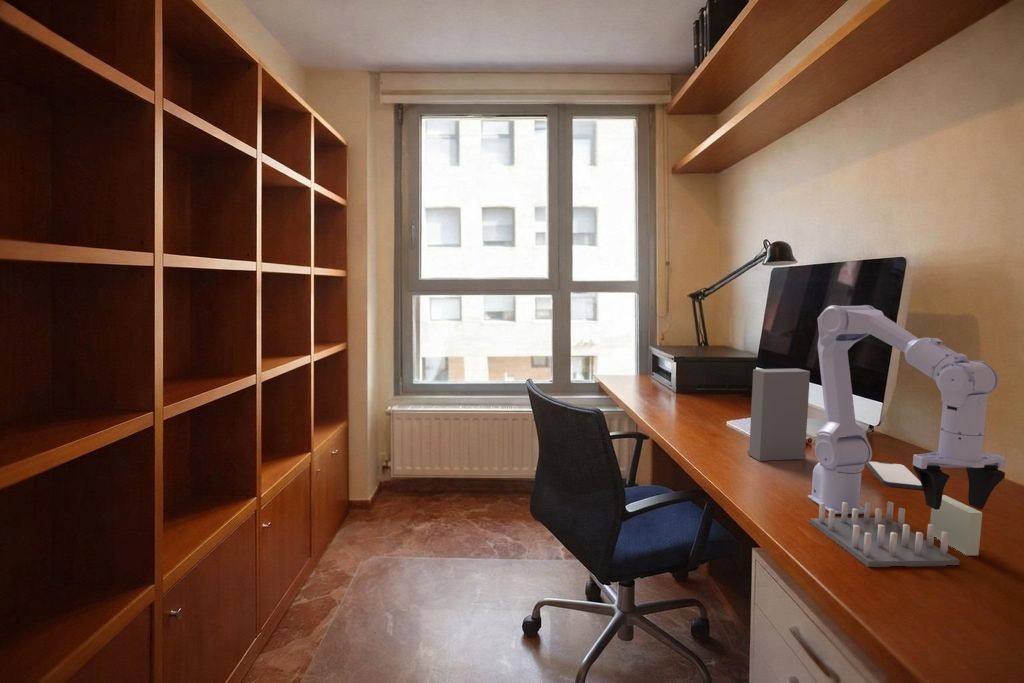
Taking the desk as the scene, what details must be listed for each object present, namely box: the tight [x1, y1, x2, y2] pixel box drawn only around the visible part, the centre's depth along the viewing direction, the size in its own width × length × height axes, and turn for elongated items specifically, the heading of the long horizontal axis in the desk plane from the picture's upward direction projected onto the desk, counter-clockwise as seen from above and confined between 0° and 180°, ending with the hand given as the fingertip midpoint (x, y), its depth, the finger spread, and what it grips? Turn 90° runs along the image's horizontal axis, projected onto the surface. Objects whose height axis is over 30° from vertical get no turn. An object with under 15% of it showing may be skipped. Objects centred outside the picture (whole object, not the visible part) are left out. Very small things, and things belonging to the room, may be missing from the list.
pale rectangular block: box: [929, 494, 983, 556], centre depth 98 cm, size 8×2×8 cm, turn 1°
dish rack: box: [809, 501, 960, 568], centre depth 99 cm, size 17×16×5 cm
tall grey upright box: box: [746, 368, 811, 462], centre depth 148 cm, size 14×6×25 cm, turn 97°
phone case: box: [866, 460, 923, 491], centre depth 134 cm, size 9×2×16 cm
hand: (954, 507), depth 92 cm, fingers open, 7 cm apart
